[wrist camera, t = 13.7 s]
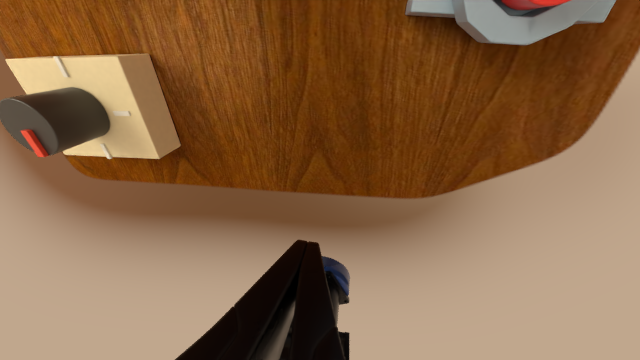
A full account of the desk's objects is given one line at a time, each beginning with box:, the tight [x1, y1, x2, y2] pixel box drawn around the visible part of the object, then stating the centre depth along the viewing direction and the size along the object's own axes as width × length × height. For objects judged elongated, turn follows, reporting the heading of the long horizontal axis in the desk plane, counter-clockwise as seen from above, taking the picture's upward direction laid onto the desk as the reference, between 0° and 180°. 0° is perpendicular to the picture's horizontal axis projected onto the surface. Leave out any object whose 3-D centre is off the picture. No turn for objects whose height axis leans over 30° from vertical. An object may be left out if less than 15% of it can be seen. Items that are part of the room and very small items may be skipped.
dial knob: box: [0, 87, 110, 157], centre depth 18 cm, size 4×4×4 cm
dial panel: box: [5, 54, 181, 159], centre depth 21 cm, size 10×8×3 cm
